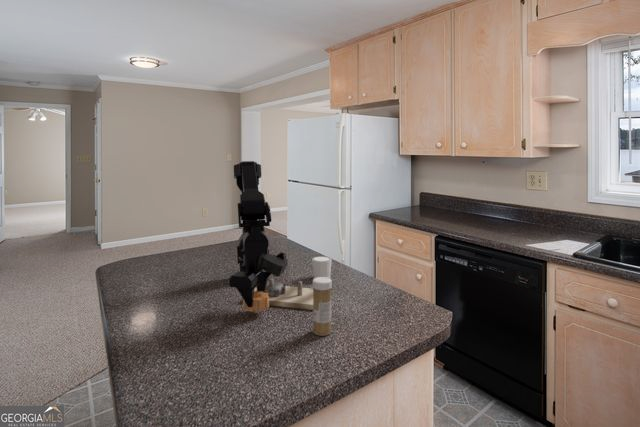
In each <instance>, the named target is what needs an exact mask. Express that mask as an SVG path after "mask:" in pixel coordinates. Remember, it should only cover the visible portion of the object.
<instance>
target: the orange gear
mask: <svg viewBox="0 0 640 427" xmlns="http://www.w3.org/2000/svg"><path fill="white" fill-rule="evenodd" d="M268 308H270V305H269V293H265V292H263V291H259V292H258V291H256V292H254V298H253V306H252V307H248V306H247V304H246V302H245V301H244V299H243V298H242V309H243V310H244V311H245V310H247V311H248V312H262V311H264V310H265V309H268Z"/></svg>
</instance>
